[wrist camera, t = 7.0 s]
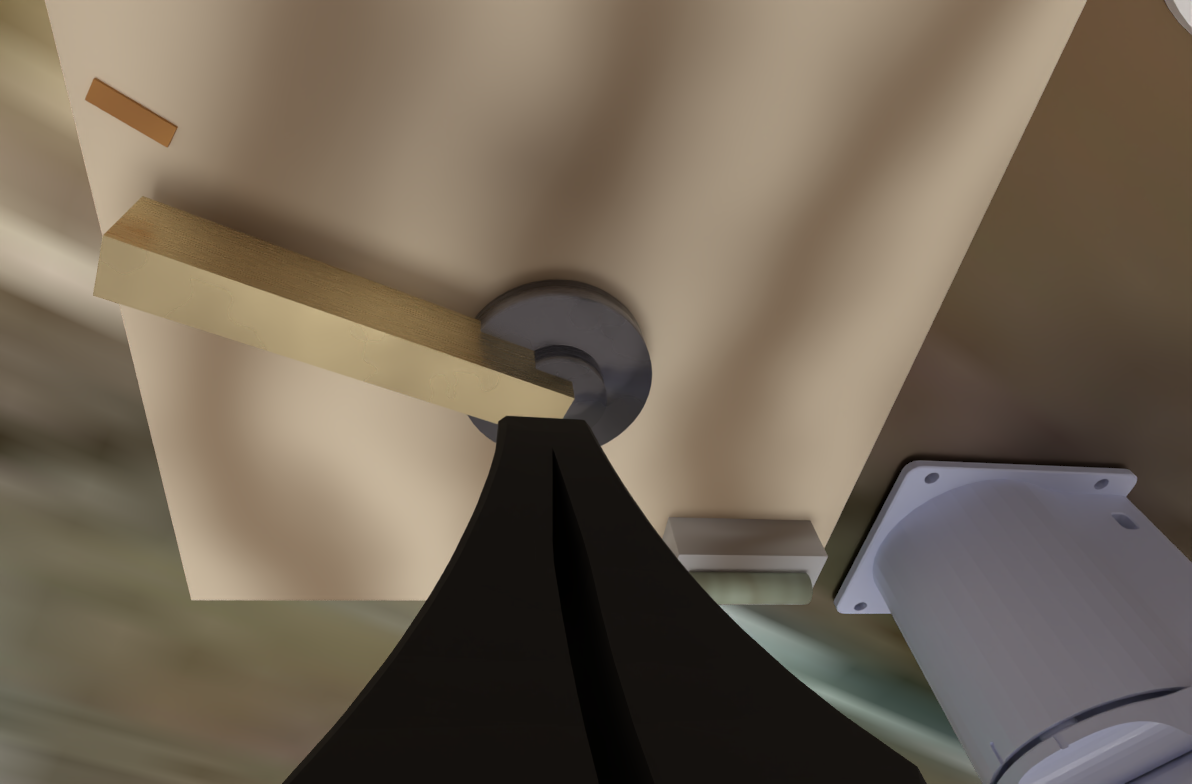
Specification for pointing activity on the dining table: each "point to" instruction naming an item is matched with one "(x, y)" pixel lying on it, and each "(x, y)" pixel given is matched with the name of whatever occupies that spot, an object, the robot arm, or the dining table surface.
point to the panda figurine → (1181, 12)
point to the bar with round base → (386, 324)
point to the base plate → (554, 246)
